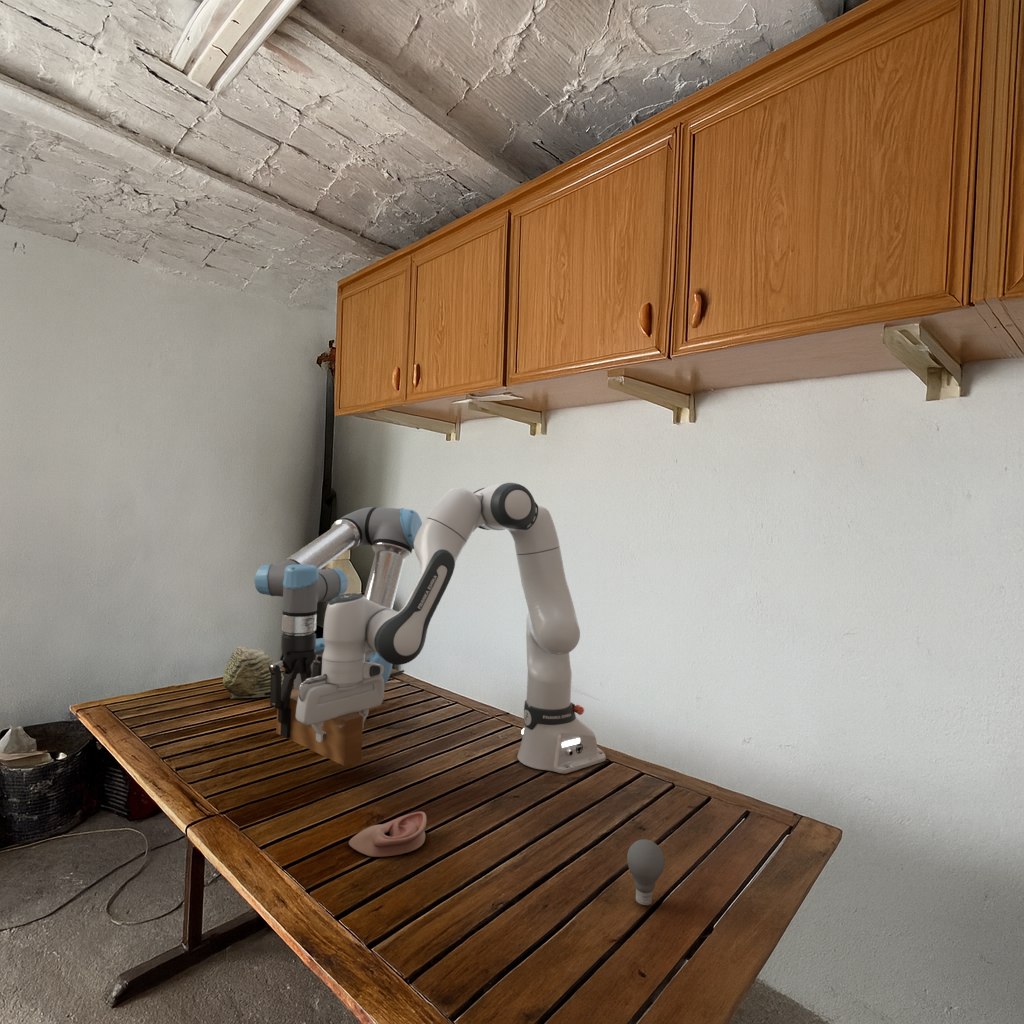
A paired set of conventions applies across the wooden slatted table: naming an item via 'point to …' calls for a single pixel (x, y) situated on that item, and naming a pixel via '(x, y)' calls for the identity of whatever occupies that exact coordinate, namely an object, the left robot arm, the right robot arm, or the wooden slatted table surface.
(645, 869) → the light bulb
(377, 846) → the anatomical model
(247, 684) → the fossil
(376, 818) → the wooden slatted table surface
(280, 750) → the wooden slatted table surface
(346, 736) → the bar
